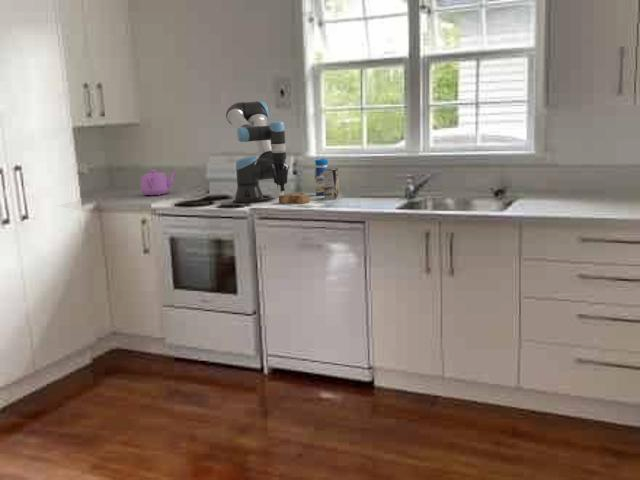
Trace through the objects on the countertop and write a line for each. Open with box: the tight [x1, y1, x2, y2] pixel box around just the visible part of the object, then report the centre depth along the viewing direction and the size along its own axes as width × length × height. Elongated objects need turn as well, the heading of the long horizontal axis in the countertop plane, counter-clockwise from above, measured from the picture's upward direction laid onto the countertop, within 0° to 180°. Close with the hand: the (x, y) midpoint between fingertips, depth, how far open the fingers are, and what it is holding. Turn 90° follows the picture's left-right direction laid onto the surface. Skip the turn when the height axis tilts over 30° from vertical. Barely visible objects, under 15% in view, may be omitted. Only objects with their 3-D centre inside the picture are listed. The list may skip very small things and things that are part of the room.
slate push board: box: [275, 199, 333, 209], centre depth 341 cm, size 26×18×1 cm
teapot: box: [140, 169, 178, 196], centre depth 406 cm, size 23×21×15 cm
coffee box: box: [323, 167, 340, 201], centre depth 351 cm, size 9×6×16 cm
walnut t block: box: [278, 191, 310, 204], centre depth 344 cm, size 14×13×4 cm
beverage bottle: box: [314, 158, 329, 197], centre depth 365 cm, size 8×8×20 cm
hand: (281, 197), depth 353 cm, fingers closed
